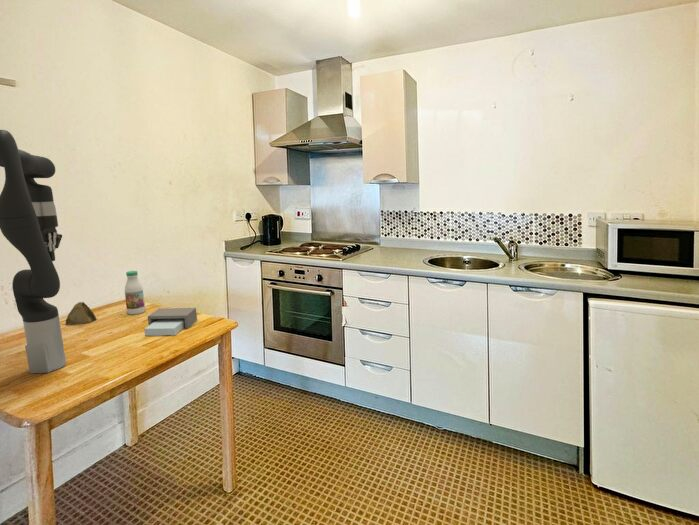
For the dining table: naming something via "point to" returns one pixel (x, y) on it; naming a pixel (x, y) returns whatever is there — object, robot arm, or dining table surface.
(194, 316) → the low shelf
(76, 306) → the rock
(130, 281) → the milk bottle
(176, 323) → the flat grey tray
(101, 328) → the dining table surface
